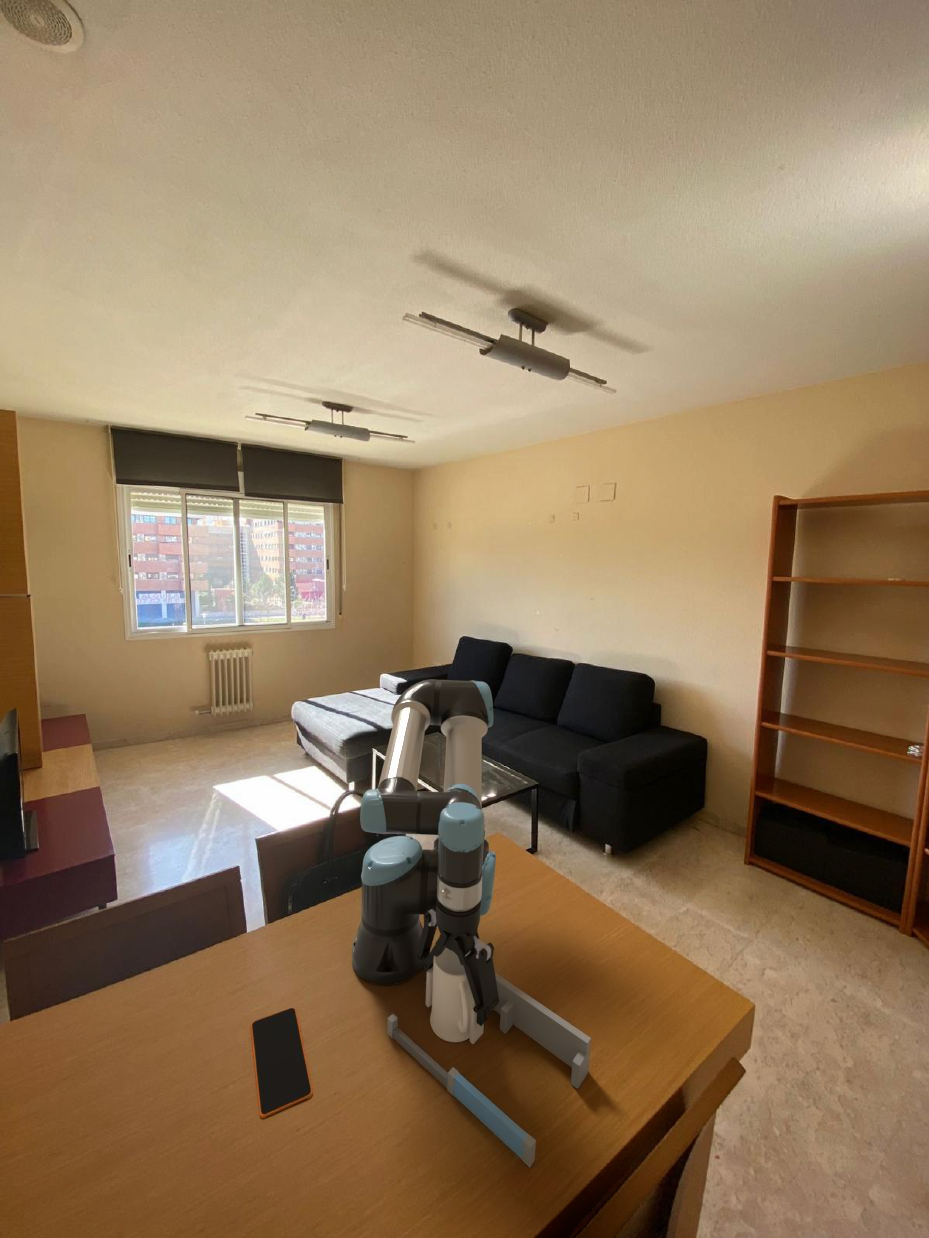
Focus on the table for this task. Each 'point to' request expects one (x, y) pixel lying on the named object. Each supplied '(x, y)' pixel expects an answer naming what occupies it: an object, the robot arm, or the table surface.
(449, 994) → the mug
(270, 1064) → the smartphone
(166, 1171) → the table surface
